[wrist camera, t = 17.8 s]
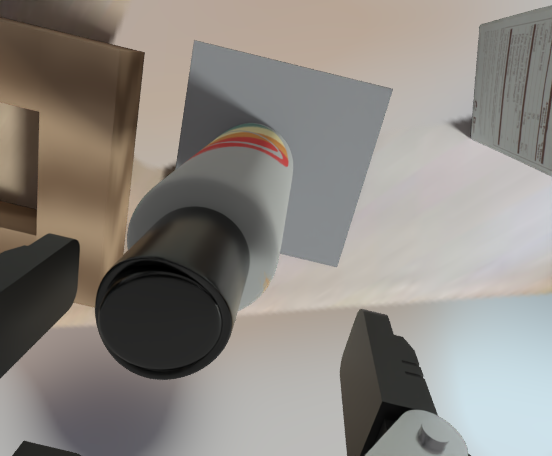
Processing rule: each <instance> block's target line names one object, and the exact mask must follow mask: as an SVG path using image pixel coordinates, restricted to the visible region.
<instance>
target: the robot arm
mask: <svg viewBox="0 0 552 456" xmlns="http://www.w3.org/2000/svg"><path fill="white" fill-rule="evenodd" d="M79 257H80V244H79V241H78V240H76V239H72V238H68V237H64V236H60V235H56V234H52V233H48V234H46V235H44V236H43V237H41V238H40V239H38V240H37V241H35V242H33V243H32V244H30V245H29V246H26V245H24V246H20V247H17V248H14V249H10V250H7V251H4V252H2V253H0V378H1V377H2V376H3V375H4V374H5V373H6V372H7V371H8V370H9V369H10V368H11V367H12V366H13V365H14V364H15V363H16V362H17V361H18V360H19V359H20V358H21V357H22V356H23V355H24V354H25V353H26V352H27V351H28V350H29V349H30V348H31V347H32V346H33V345H34V344H35V343H36V342H37V341H38V340H39V339H40V338H41V337H42V336H43V335H44V334H45V333H46V332H47V331H48V330H49V329H50V328H51V327H52V326H53V325H54V324H55V323H56V322H57V321H58V320H59V319H60V318H61V317H62V316H63V315H64V314H65V313H66V312H67V311H68V310H69V309H70V307H71V306H72V304H73V302H74V300H75V297H76V294H77V288H78V273H79ZM340 381H341V392H342V404H343V415H344V426H345V437H346V447H347V456H471V455H469V454H468V449H467V446H466V443H465V441H464V439H463V438H462V436H461V435H460V434H459V432H458V431H457V430H456V429H455V428H454V427H453V426H452V425H451V424H450V423H448V422H447V421H446V420H444V419H442V418H441V417H439V416H438V415H437V412H436V409H435V407H434V404H433V401H432V398H431V395H430V392H429V390H428V387H427V384H426V382H425V379H424V378H423V373H422V370H421V368H420V367H419V362H418V359H417V356H416V354H415V351H414V350H413V348H412V347H411V346H410V345H409V344H408V343H407V341H406V340H405V339H404V338H403V337H401V336H396V335H394V334H393V331H392V328H391V324H390V321H389V318H388V316H387V315H385V314H381V313H376V312H372V311H368V310H364V309H360V310H359V312H358V313H357V316H356V318H355V321H354V324H353V327H352V330H351V333H350V336H349V339H348V341H347V344H346V347H345V350H344V353H343V357H342V361H341V367H340ZM12 456H81V455H79V454H77V453H73V452H69V451H65V450H60V449H56V448H52V447H48V446H44V445H40V444H35V443H31V442H27V441H23V442H22V444H21V445H20V446H19V448H18V449H17V450H16V451H15V453H14V454H13V455H12Z"/></svg>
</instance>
